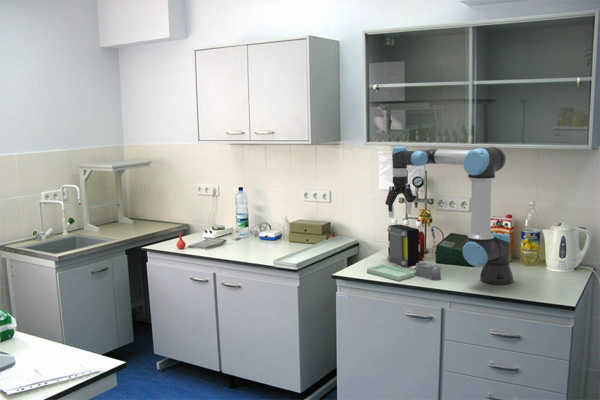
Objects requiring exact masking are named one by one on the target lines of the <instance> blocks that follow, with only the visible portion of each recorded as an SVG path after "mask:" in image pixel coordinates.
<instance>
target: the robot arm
mask: <svg viewBox="0 0 600 400" xmlns="http://www.w3.org/2000/svg"><path fill="white" fill-rule="evenodd" d="M391 151H392V155H391V157H392V158H391V159H392V184H393V186H392V185H390V186H389V188H388V189H389V190H388V193H387V196H386V199H385V205H386V206H388V208H387V210H388V217H389V218H392V219H394V218H395V205H394V203H395V201H396V199H397V197H398V196H399V195H403V197H404V198H405V200H406V203H405V206H406V207H405V211H406V212H405V214H406V215H412V203H414V201H415V196H414V193H413V191H412V188H411V184H410V183H408V176H407V175H408V166H413V167H414V166H415V167H423V166H425V165H430V164H431V165H454V166H463V168H464V170H465V172H466V173H467V174H468V175H467V177H468V178H467V179H469V180H470V183H471V194H470V196H471V197H470V198H471V201H470V202H471V204H470V205H471V206H470V207H471V208H470V211H471V212H470V216H471V217H470V233H469V234H468V235H467V242H466V243H465V244H464V245H463V247H462V255H463V258H464V259H465V260H466V262H467V263H468V264H469V265H471V266H474V267H479V266H483V267H482V269H481V271H480V275H479V279H480V282H482V283H485V284H490V285H508V284H512V283H514V275H513V271H512V269H511V265H510V264H511V263H510V259H511V258H510V257H511V238H510V236H509V235H508V234H506V233H505V234H504V233H500V232H497V233H496V232H491V227H492V226H491V221H492V220H491V219H492V218H491V217H492V216H491V215H492V214H491V213H492V181H494V180H495V178H496V172H498V171H500V170H501V169H503V168H504V166H505V165H506V162H507V157H506V154H505V152H504V151H503V150H502V149H501V148H499V147H496V146H490V147H480V148H479V147H477V148H475V149H437V148H431V149H419V150H408V148H407V146H399V145H398V146H394V147H393V148H392V150H391Z"/></svg>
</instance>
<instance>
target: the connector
mask: <svg viewBox="0 0 600 400" xmlns="http://www.w3.org/2000/svg"><path fill="white" fill-rule="evenodd" d="M409 268H410V269H409V270H411V271H415V277H420V278H424V279H428V280H432V281H439V280H441V277H442V275H441V273H442V272H441V266H440V265H435V264H432V263H426V262H420V261H419V263H416V266H412V267H409Z"/></svg>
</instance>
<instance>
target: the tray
mask: <svg viewBox="0 0 600 400" xmlns="http://www.w3.org/2000/svg"><path fill="white" fill-rule="evenodd" d="M366 273H367V274H371V275H373V276H377V277H381V278H385V279H389V280H392V281H396V282H402V281H405V280H409V279H411V278H415V277H416V271H414V270H410V269H409V270H408V269H405V268H401V267H396V266H393V265H388V264H384V263H382V264H379V265H374V266H371V267H367V268H366Z"/></svg>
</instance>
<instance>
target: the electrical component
mask: <svg viewBox="0 0 600 400" xmlns="http://www.w3.org/2000/svg"><path fill="white" fill-rule="evenodd" d="M386 231H387V232H388V246H389V247H388V251H389V252H388V253H389V254H388V256H386V258H387V261H390V262H392V263H395V264H397V265H401V266H403V267H406V268H410V267H412V266H416V263H419V262H420V229H419V228H416V227H412V226H407V225H404V224H401V223H400V224H398V223H397V224H389V225H388V228H387V229H386Z"/></svg>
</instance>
